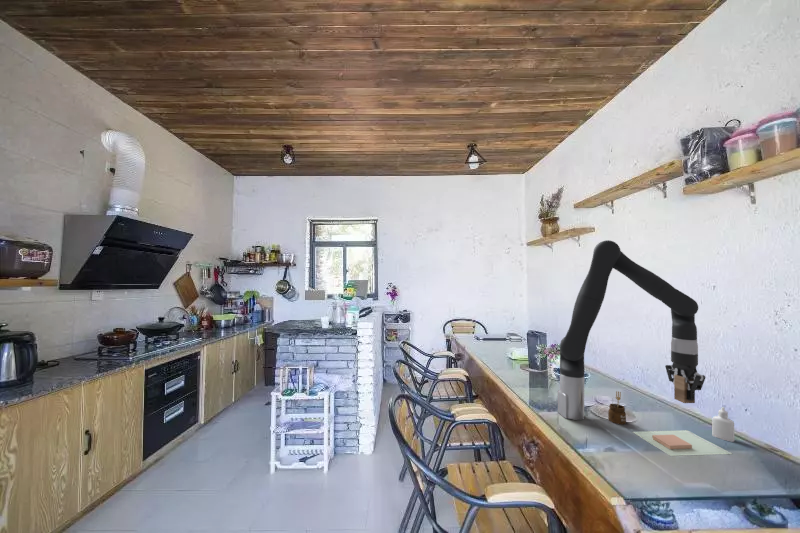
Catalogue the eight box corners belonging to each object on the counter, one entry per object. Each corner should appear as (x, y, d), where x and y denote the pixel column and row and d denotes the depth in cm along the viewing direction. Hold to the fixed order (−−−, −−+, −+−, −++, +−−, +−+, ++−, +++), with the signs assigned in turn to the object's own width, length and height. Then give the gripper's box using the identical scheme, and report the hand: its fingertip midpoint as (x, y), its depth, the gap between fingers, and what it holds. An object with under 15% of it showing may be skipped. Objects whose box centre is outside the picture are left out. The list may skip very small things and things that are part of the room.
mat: (670, 459, 107) (670, 455, 107) (632, 434, 123) (632, 431, 123) (732, 456, 109) (732, 453, 109) (687, 432, 124) (687, 430, 124)
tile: (692, 449, 111) (669, 449, 111) (673, 438, 118) (652, 439, 118) (692, 444, 111) (669, 445, 111) (673, 434, 118) (652, 435, 118)
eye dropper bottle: (720, 436, 122) (720, 404, 122) (737, 444, 116) (737, 410, 117) (709, 436, 122) (709, 404, 122) (725, 444, 116) (725, 410, 116)
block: (684, 403, 118) (684, 378, 118) (674, 398, 122) (674, 374, 122) (694, 403, 118) (694, 378, 118) (684, 398, 122) (684, 374, 122)
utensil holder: (606, 423, 132) (606, 393, 132) (610, 418, 136) (610, 389, 136) (624, 428, 128) (624, 397, 128) (627, 423, 132) (627, 393, 132)
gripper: (658, 346, 127) (658, 390, 127) (693, 355, 113) (693, 405, 113) (676, 346, 128) (676, 390, 128) (713, 355, 114) (713, 405, 113)
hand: (684, 397), depth 120 cm, fingers closed on block, 4 cm apart
